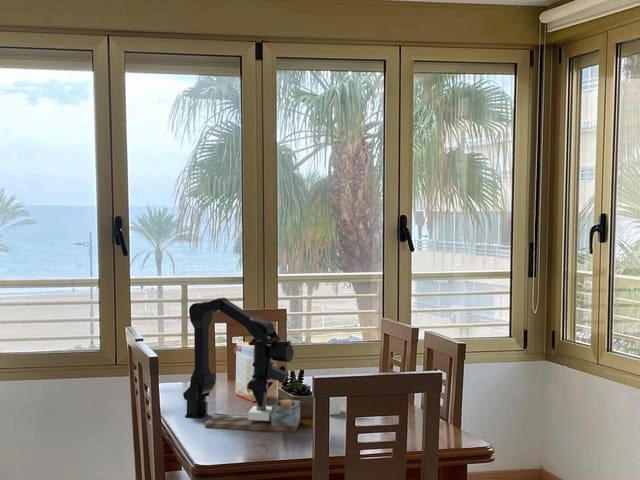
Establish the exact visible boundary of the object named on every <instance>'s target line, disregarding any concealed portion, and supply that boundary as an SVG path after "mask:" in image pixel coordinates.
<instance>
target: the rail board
mask: <svg viewBox="0 0 640 480" xmlns="http://www.w3.org/2000/svg"><path fill="white" fill-rule="evenodd" d="M281 400H282V399H276V400H275V402H274V403H273V405H271V407H272V417H271V419H270V420H269V421H263V420H248V414H234V413H233V414H231V413H214V414H213V415H212V416H210V418H208V419H207V420H206V421H205V422H204V423H205V424H204V427H205V428H209V429H210V428H211V429H227V430H229V429H231V430H249V431H271V432H287V433H288V432H291V433H296V431H297V429H298V427H299V425H300V423H301V400H292V399H291V400H292V406H280V401H281Z"/></svg>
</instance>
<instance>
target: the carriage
mask: <svg viewBox="0 0 640 480" xmlns="http://www.w3.org/2000/svg"><path fill="white" fill-rule="evenodd" d="M247 415H248V420H263V421H269V420H270V419H271V417H272V406H267V395H266V394H265V395H264V400H263V406H262V407H259V406H258V404H257V403H256V405H253V406H252V407H251V408H250V409H249V411H248V412H247Z"/></svg>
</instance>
